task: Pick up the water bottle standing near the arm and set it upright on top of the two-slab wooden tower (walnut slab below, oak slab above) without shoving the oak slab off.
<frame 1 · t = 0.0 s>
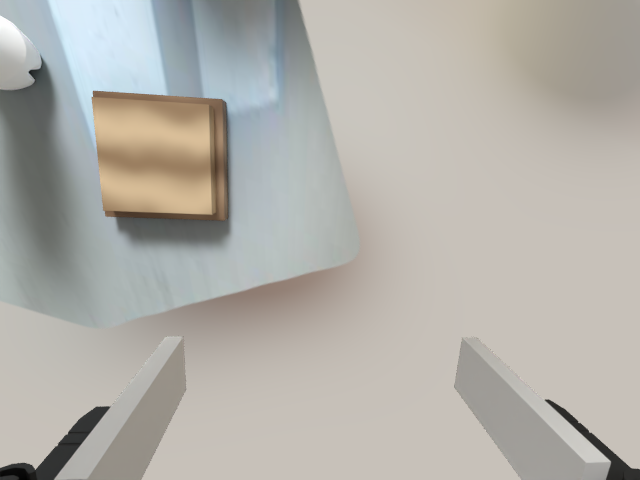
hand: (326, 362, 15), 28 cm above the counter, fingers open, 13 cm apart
water bottle: (17, 61, 35), on the counter
walnut slab: (169, 159, 38), on the counter
oak slab: (162, 159, 36), point 2 cm above the counter, touching walnut slab
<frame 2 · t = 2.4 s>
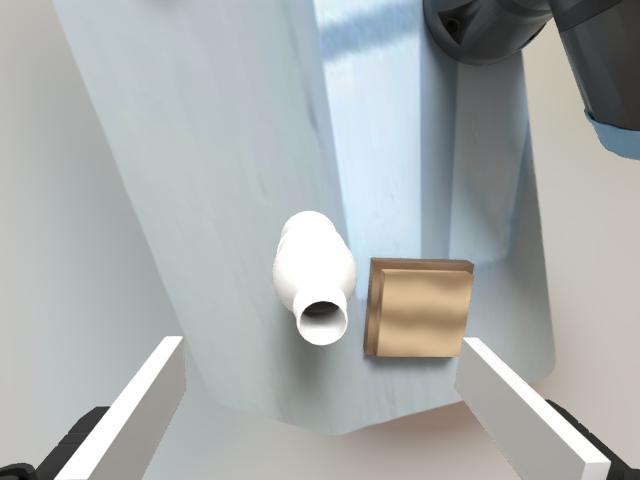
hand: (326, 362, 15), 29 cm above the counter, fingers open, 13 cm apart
water bottle: (308, 234, 43), on the counter
walnut slab: (413, 304, 46), on the counter
oak slab: (418, 310, 44), point 2 cm above the counter, touching walnut slab
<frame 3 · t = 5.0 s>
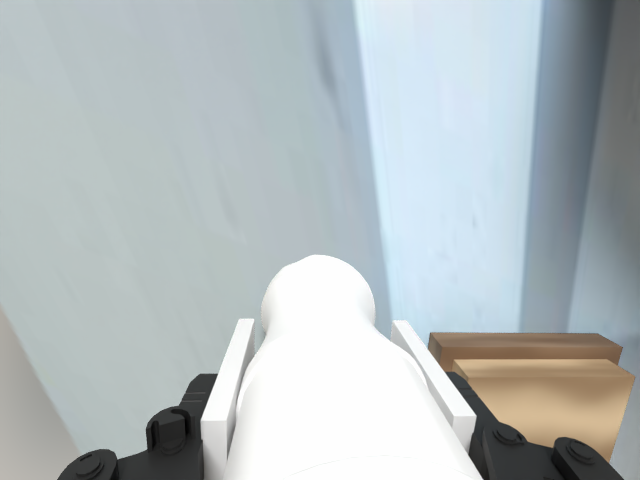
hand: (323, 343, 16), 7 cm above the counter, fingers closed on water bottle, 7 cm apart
water bottle: (315, 293, 23), on the counter, touching gripper
walnut slab: (500, 409, 26), on the counter
oak slab: (516, 428, 24), point 2 cm above the counter, touching walnut slab
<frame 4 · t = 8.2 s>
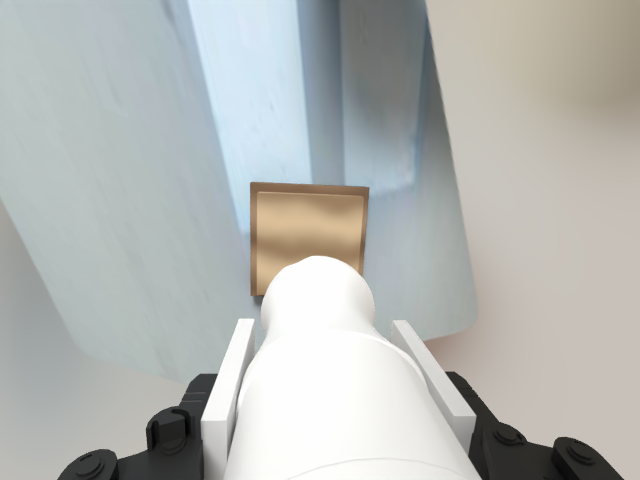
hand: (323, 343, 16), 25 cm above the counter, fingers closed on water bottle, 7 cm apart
water bottle: (315, 293, 23), point 18 cm above the counter, touching gripper
walnut slab: (307, 239, 40), on the counter
oak slab: (308, 243, 38), point 2 cm above the counter, touching walnut slab
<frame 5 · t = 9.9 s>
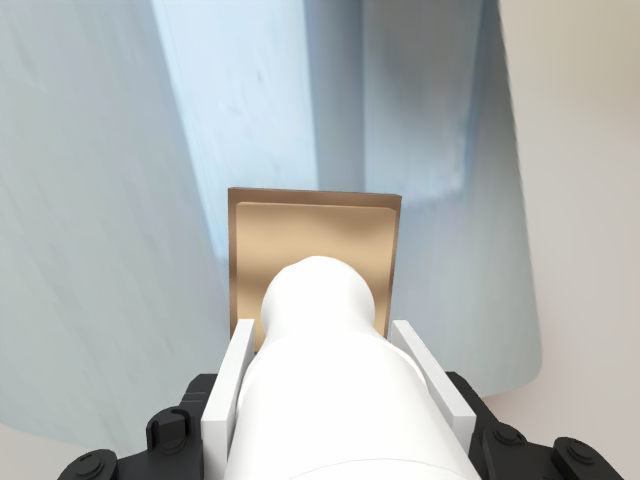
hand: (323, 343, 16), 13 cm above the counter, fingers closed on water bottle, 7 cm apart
water bottle: (315, 294, 23), point 6 cm above the counter, touching gripper
walnut slab: (311, 268, 28), on the counter
oak slab: (313, 275, 27), point 2 cm above the counter, touching walnut slab
when the fingers open (11 cm above the counter, at t = 11.5 s): water bottle stays where it is, resting on oak slab.
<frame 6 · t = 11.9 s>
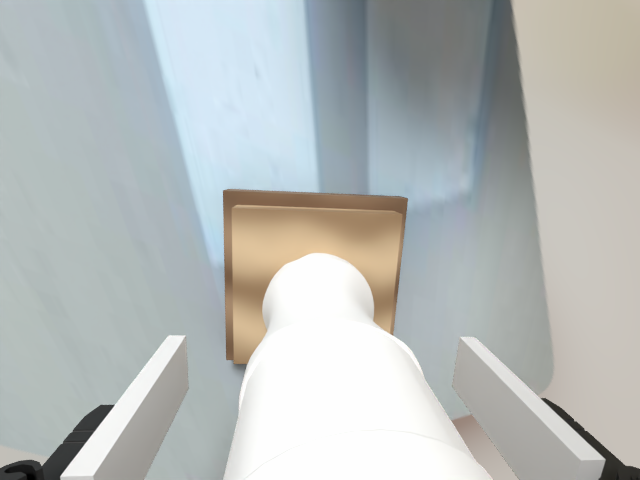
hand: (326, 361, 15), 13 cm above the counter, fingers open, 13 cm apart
water bottle: (315, 290, 23), point 4 cm above the counter, touching oak slab
walnut slab: (312, 274, 27), on the counter
oak slab: (313, 282, 25), point 2 cm above the counter, touching walnut slab, water bottle
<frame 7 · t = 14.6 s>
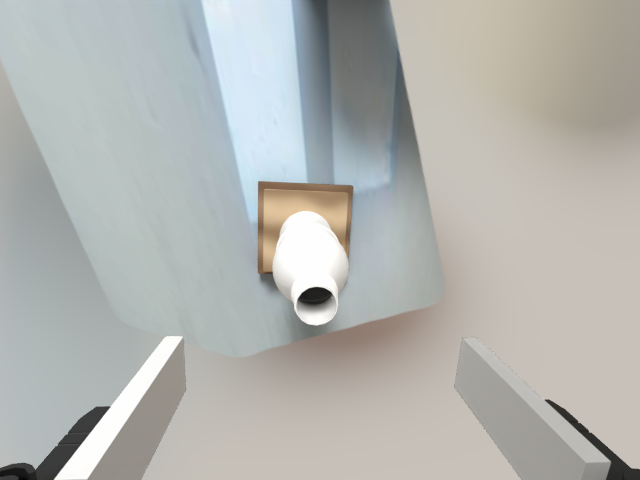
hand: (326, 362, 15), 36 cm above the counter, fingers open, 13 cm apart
water bottle: (305, 232, 46), point 4 cm above the counter, touching oak slab
walnut slab: (304, 228, 49), on the counter
oak slab: (304, 230, 47), point 2 cm above the counter, touching walnut slab, water bottle
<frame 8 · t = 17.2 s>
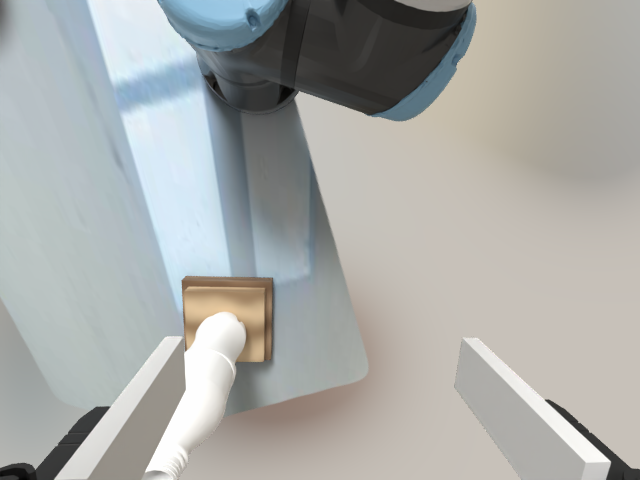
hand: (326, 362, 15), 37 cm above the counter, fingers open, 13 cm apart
water bottle: (225, 327, 49), point 4 cm above the counter, touching oak slab
walnut slab: (230, 316, 53), on the counter
oak slab: (228, 321, 51), point 2 cm above the counter, touching walnut slab, water bottle
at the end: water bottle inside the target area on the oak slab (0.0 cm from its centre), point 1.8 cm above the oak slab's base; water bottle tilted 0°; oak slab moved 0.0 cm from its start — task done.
